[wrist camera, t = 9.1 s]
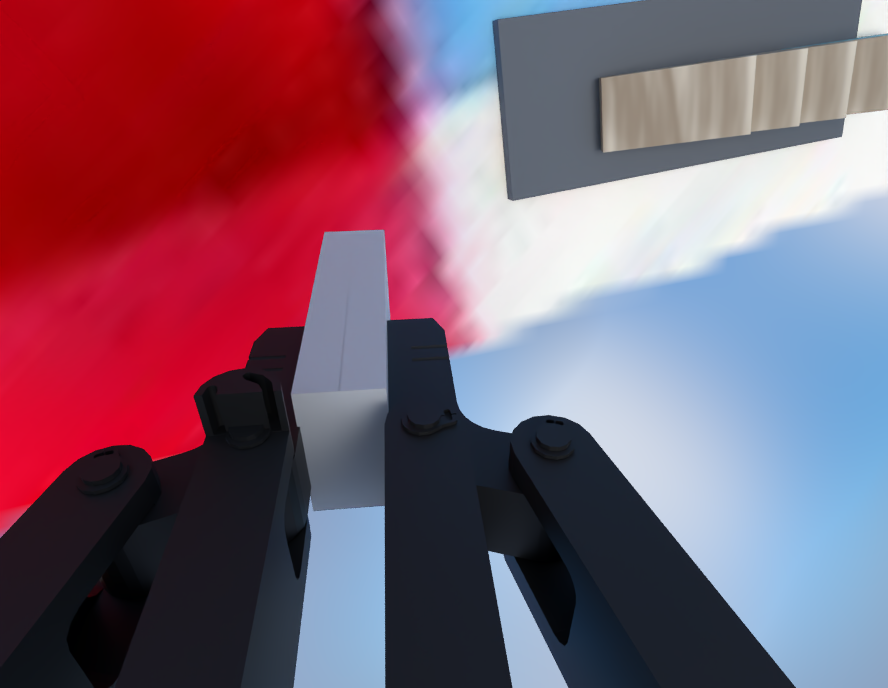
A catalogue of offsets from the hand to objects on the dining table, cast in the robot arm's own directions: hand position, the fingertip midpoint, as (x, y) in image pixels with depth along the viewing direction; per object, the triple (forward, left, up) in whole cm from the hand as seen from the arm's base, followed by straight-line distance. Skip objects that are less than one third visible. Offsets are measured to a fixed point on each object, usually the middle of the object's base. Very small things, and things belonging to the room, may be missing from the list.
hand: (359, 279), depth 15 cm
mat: (-11, +27, -27) cm, 40 cm away
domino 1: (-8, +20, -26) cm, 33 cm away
